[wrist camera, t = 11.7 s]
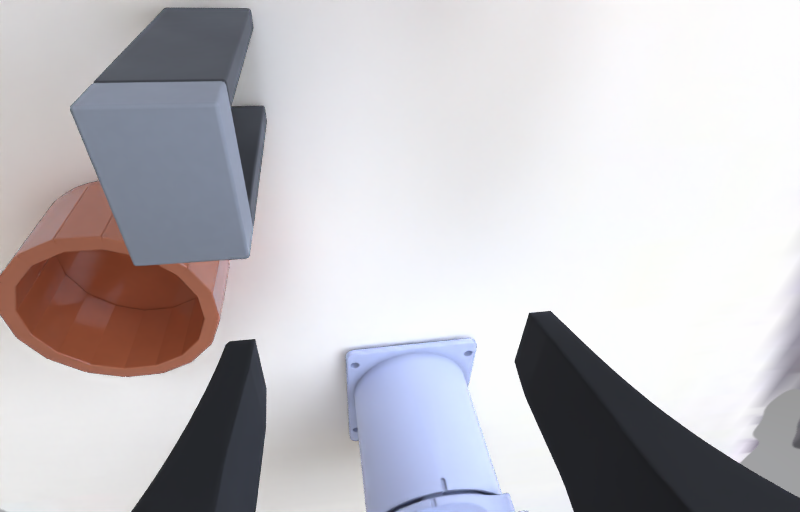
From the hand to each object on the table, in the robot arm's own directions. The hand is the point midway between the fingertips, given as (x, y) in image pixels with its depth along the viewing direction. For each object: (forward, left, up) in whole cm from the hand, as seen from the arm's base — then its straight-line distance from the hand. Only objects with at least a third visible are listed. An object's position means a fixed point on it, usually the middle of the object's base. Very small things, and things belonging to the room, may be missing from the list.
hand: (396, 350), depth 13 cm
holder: (-4, +10, -10) cm, 15 cm away
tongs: (+4, +5, -10) cm, 12 cm away
